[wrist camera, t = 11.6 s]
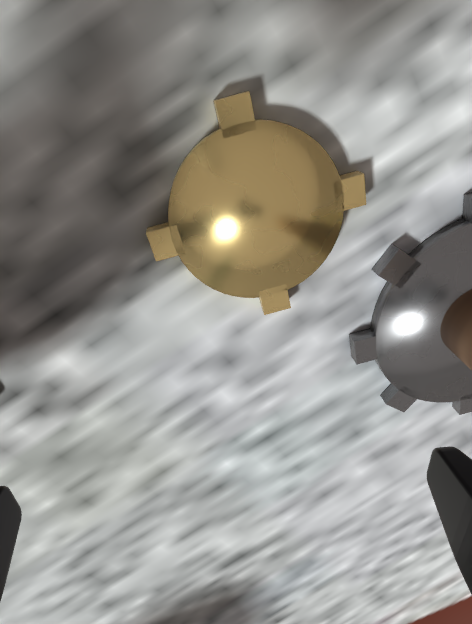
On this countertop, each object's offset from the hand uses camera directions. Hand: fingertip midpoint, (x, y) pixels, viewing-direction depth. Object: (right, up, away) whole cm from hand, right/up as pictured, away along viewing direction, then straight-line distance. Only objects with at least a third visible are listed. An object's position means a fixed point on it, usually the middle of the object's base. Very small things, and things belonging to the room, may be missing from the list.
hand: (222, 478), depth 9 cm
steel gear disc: (+14, +3, +15) cm, 21 cm away
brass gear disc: (+1, +8, +10) cm, 13 cm away
